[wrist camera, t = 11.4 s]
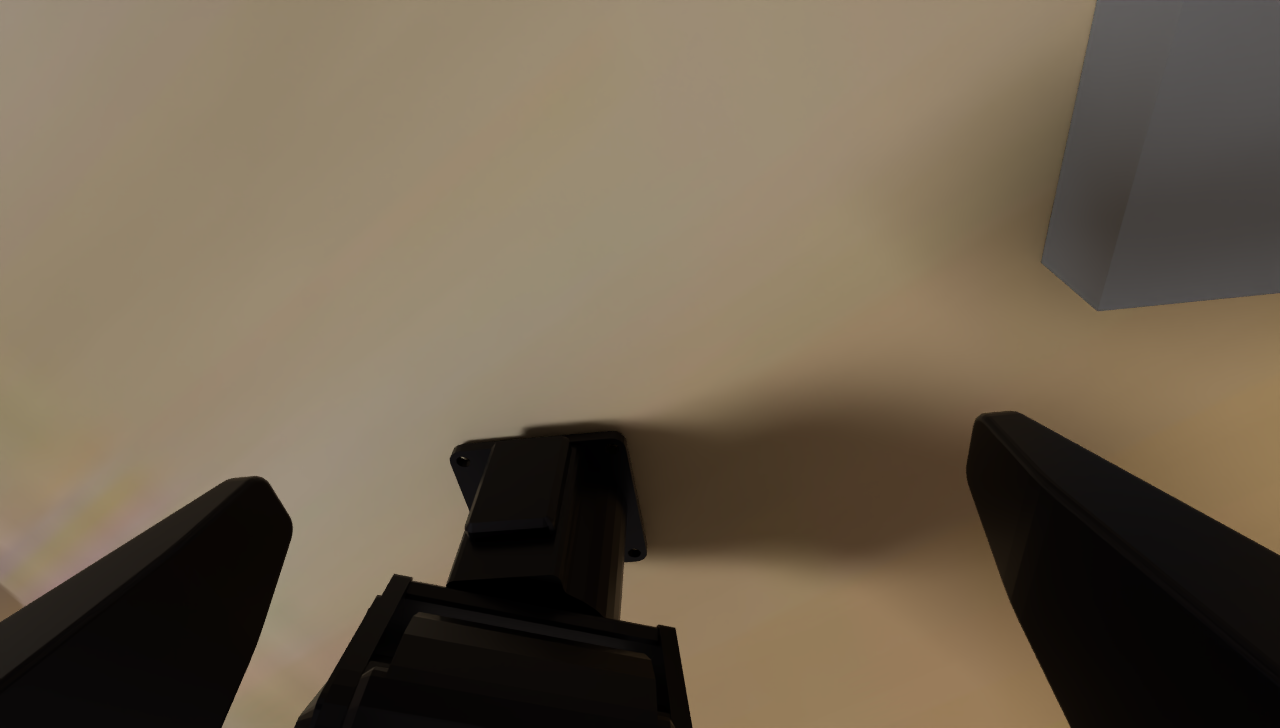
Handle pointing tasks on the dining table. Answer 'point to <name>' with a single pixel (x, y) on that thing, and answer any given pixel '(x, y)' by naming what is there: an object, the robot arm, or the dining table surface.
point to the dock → (1172, 156)
